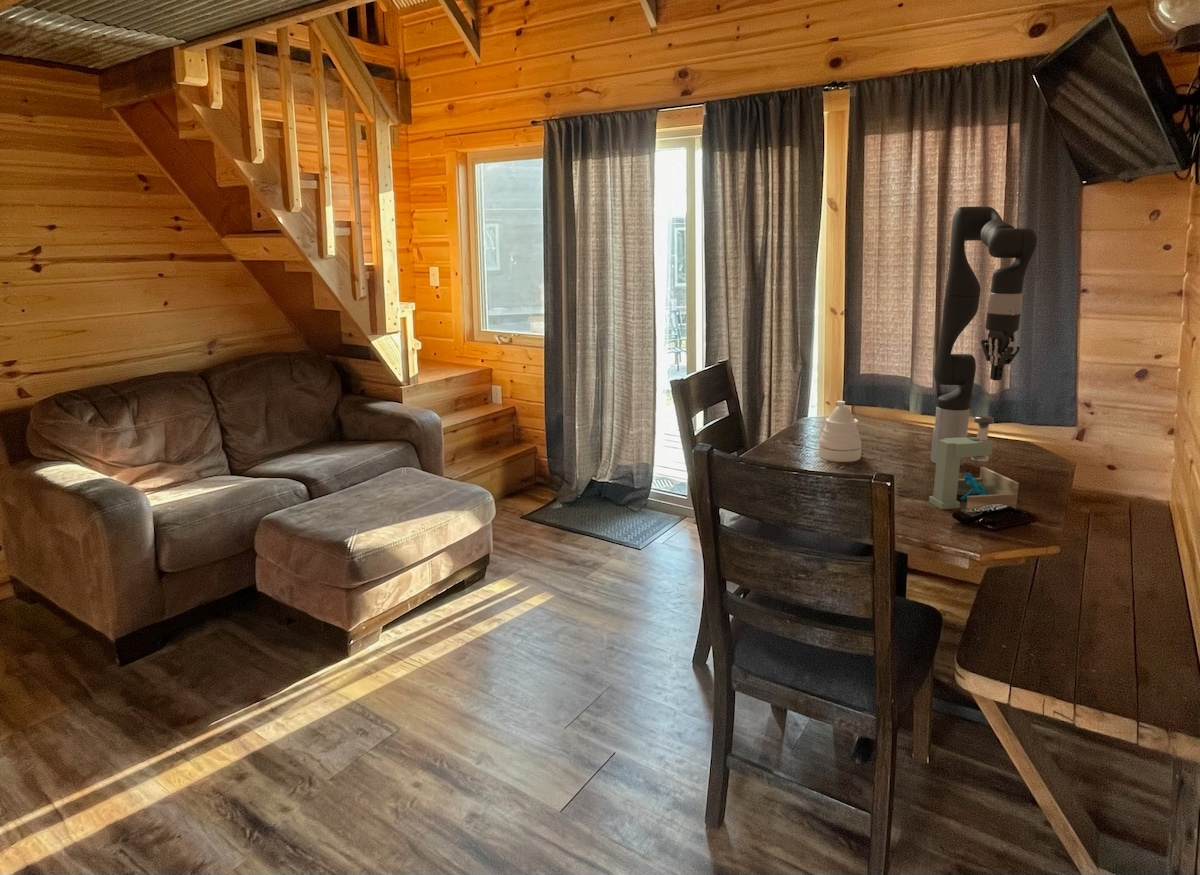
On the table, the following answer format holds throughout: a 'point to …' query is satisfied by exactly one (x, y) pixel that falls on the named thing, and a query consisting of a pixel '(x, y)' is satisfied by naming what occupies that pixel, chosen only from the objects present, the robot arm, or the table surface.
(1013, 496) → the tan open box
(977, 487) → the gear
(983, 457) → the ram
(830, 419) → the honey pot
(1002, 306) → the robot arm
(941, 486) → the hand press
